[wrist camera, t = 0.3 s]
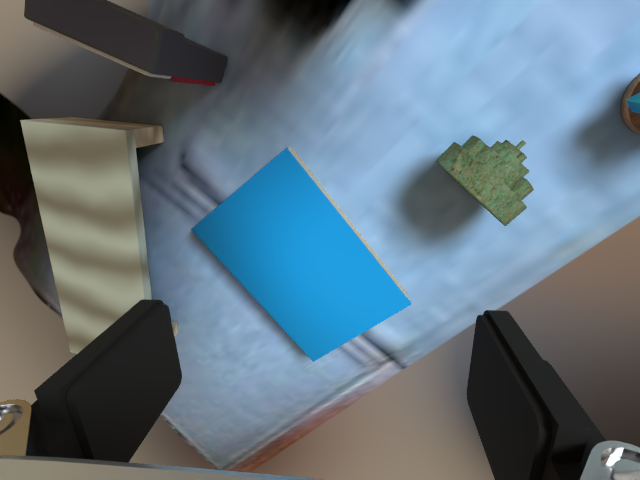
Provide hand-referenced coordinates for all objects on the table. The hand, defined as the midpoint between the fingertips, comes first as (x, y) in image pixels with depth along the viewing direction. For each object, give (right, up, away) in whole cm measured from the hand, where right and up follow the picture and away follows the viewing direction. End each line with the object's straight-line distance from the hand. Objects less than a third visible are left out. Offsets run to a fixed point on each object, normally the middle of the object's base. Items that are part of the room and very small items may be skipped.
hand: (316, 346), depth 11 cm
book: (-2, +1, +39) cm, 39 cm away
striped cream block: (-27, +4, +40) cm, 48 cm away
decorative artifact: (+19, +13, +31) cm, 39 cm away
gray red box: (-16, +25, +31) cm, 43 cm away
